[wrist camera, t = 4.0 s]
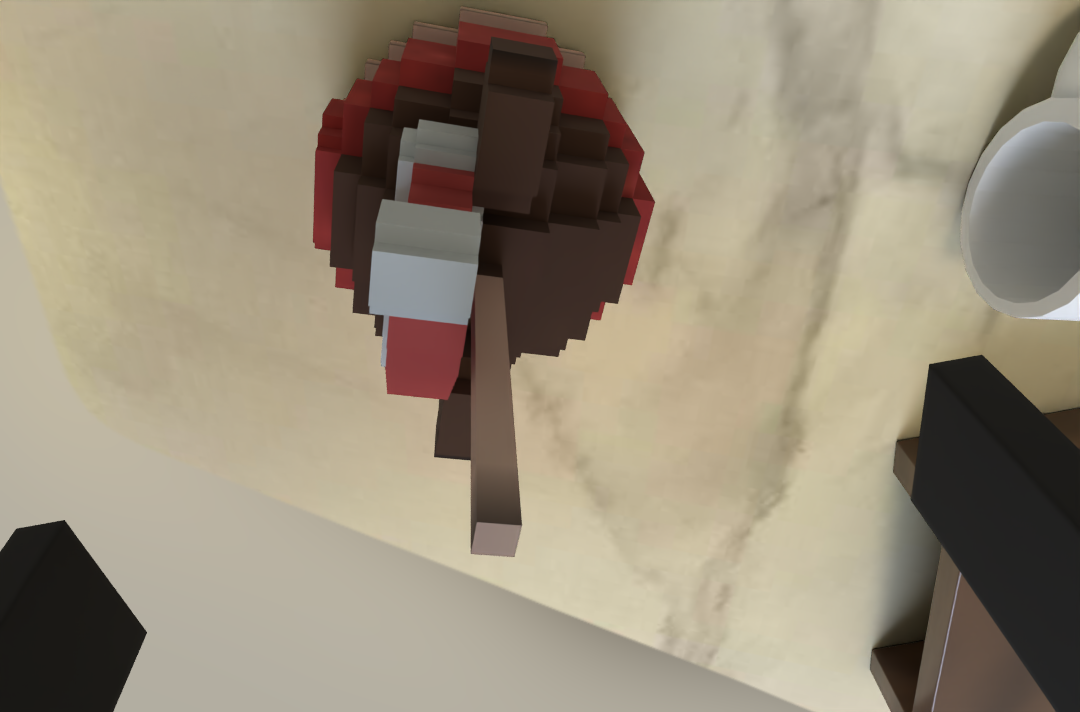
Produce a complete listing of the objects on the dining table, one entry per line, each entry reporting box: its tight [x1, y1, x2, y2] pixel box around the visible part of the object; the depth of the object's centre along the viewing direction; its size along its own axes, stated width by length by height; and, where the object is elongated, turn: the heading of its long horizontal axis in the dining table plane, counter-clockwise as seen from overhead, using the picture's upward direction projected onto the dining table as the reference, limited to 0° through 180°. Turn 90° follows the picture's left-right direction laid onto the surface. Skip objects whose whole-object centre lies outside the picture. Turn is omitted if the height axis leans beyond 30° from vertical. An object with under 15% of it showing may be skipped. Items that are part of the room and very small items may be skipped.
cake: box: [313, 6, 655, 557], centre depth 19 cm, size 11×9×18 cm
